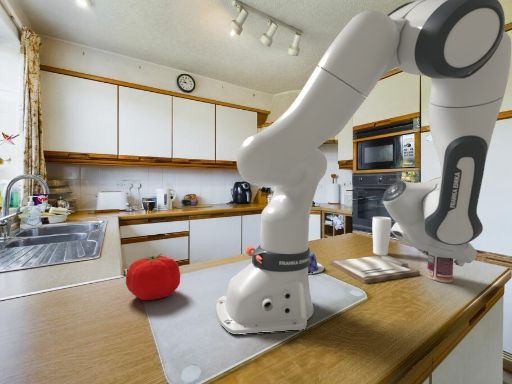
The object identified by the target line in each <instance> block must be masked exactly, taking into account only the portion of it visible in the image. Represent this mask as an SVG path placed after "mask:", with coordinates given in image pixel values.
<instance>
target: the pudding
mask: <svg viewBox="0 0 512 384" xmlns="http://www.w3.org/2000/svg"><path fill="white" fill-rule="evenodd" d="M316 257H317V256H316V255H315V253H314V252H312V251H310V266H309V270H308V272H313V273H312V274H318V273H321V272H323V271H324V270H325V267H324V265H322V264H321V263H319V262H317V258H316ZM315 271H316V272H315Z"/></svg>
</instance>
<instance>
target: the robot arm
mask: <svg viewBox="0 0 512 384" xmlns="http://www.w3.org/2000/svg"><path fill="white" fill-rule="evenodd" d="M505 17H506V15H505V12H504V7H503V6H502V4H501V2H500V1H499V0H413V1H409V2H406V3H404V4H401V5H400V6H397V8H395V9H394V10H392V11H390V12H389V13H388V14H386V13H385V12H381V11H378V10H377V11H376V10H364V11H362V12H359V13H357V14H355V15H354V16H353V17H352V18H351V19H350V20H349V22H347V24H346V25H345V26H344V27H343V28H342V29H341V31H340V32H339V34H337V36H336V37H335V38H334V40H333V41H332V42H331V44H330V45H329V47H328V48H327V49H326V51H324V54H323V55H322V57H321V58H320V60H319V61H318V63H317V65H316V67H315V68H314V70H313V71H312V73H311V74H310V76H309V77H308V79H307V81H306V83H305V84H304V86H303V88H302V89H301V91H299V93H298V95H297V97H296V98H295V99H294V100H293V102H292V103H291V105H290V106H289V107H288V108H287V109H286V110H285V111H284V112H283V113H282V114H281V115H280V116H279V117H278V118H277V119H276V120H275V121H274V122H273V123H272V124H269V126H268V127H266V128H265V129H263V130H262V131H260V132H258V133H256V134H253V135H251V136H248V137H247V138H246V139H244V140H243V142H242V143H241V144H240V146H239V148H238V151H237V154H236V168H237V171H238V174H239V175H240V177H241V178H242V180H243V181H244V182H246V183H248V184H251V185H254V186H257V187H261V188H265V189H266V188H269V189H271V188H273V189H274V191H273V195H272V197H271V199H270V201H269V203H268V204H267V205H266V206H265V207H264V208H263V209H262V211H261V214H260V229H259V230H260V232H259V234H260V237H259V242H260V243H259V245H258V247H256V248H254V246H252V245H249V246H247V247H246V248H245V253H246V254H247V255H248V256H249V257H251V262H250V263H249V264H247V266H246V267H244V268H243V269H242V270H240V271H239V272H238V273H237V274H235V275H234V276H233V277H232V278H231V279H230V280H229V282H228V284H227V289H226V295H222V296H220V297H219V298H218V299H217V301H216V306H215V313H217V314H216V317H218V318H217V320H218V319H219V320H218V322H219V321H220V322H219V324H220V323H221V324H222V326H223V327H224V328H225V329H227V330H228V331H230V332H232V333H236V334H238V333H250V332H251V333H252V332H262V331H281V330H282V331H283V330H284V331H285V330H299V331H303V330H302V329H304V330H306V329H307V327H306V326H308V321H309V319H310V318H311V317H312V316H313V314H314V308H315V307H314V305H313V304H314V303H313V300H312V295H311V291H310V290H311V289H310V279H309V273H308V270H309V266H310V252H311V249H310V247H309V235H310V234H309V232H310V231H309V230H310V217H311V216H310V215H311V211H312V206H313V203H314V202H313V201H314V199H315V195H316V191H317V188H318V186H319V183H320V182H321V180H322V179H323V178H324V176H325V174H326V172H327V169H328V161H327V157H326V155H325V153H323V151H322V150H320V149H319V147H320V146H321V145H322V144H324V143H326V142H327V141H329V140H331V139H332V138H334V137H336V136H337V135H339V134H340V133H341V132H342V131H343V129H344V128H345V127H346V126H347V124H348V122H349V121H350V120H351V119H352V118H353V117H354V115H355V113H356V112H358V110H359V108H361V106H362V105H363V103H364V102H365V101H366V100H367V98H368V96H369V95H370V94H371V92H372V91H373V90H374V89H375V87H376V86H377V84H378V83H379V81H380V80H381V79H382V78H383V77H385V76H386V74H388V73H389V72H390V71H392V70H394V69H399V70H400V71H402V72H403V73H407V74H409V75H410V74H411V75H415V76H425V77H428V78H430V79H431V87H430V93H429V101H428V111H427V112H428V115H427V117H428V124H429V131H430V135H431V139H432V140H433V144H434V146H435V150H436V153H437V156H438V161H439V166H440V177H436V178H433V179H429V180H427V181H422V182H420V181H419V182H409V181H405V180H404V181H402V180H401V181H397V182H394V183H393V184H391V185H390V186H389V187H388V188H386V190H385V191H384V193H383V196H382V203H383V205H384V207H385V209H386V211H387V213H388V214H389V215H390V218H391V219H393V221H394V224H393V225H392V226H391V230H390V231H391V233H392V235H394V236H395V238H396V239H397V240H398V242H400V243H401V244H402V245H404V246H407V247H410V248H414V249H415V250H417V251H419V252H420V253H421V254H422V255H423V256H426V257H428V252H431V253H435V254H438V255H442V256H445V257H449V258H452V259H453V264H455V265H456V266H458V267H464V265H465V263H466V264H471V263H473V261H474V260H475V259H476V257H477V256H478V251H477V249H475V247H474V246H473V245H472V244H471V243H470V242H473V241H474V240H475V239H477V238H478V237H479V236H480V235H481V234H482V233H483V230H484V227H483V224H482V221H481V219H480V217H479V216H478V213H477V210H478V205H479V204H478V203H479V199H480V195H481V193H480V192H481V190H482V189H481V188H482V184H483V179H484V172H485V166H486V161H487V157H488V153H489V149H490V144H491V142H492V136H493V133H494V130H495V126H496V123H497V120H498V118H499V115H500V114H499V113H500V111H501V107H502V104H503V100H504V97H505V93H506V90H507V85H508V81H509V75H510V68H511V57H512V38H511V36H510V35H509V34H508V32H507V31H505V24H506V21H505V20H506V18H505ZM307 320H308V321H307ZM221 324H220V325H221ZM222 326H221V327H222ZM223 327H222V328H223ZM224 328H223V329H224ZM305 328H306V329H305ZM225 329H224V330H225ZM285 332H286V331H285Z"/></svg>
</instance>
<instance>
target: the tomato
mask: <svg viewBox="0 0 512 384" xmlns="http://www.w3.org/2000/svg"><path fill="white" fill-rule="evenodd" d="M162 254H163V253H162V252H161V253H160V254H158V255H156V256H154V255H151V256H147V257H141V258H139V259H136V260H135V261H133V262H132V263H131V264H130V265H129V267H128V269H127V272H126V275H125V285H126V288H127V289H128V291H129V292H130V293H131V294H132V295H134V296H135V297H136V298H138V299H141V300H142V301H148V300H149V301H150V300H157V299H159V300H160V299H163V298H166V297H169V296H170V295H171V294H173V293H174V292H175V291H176V290H177V289H178V287H179V286H180V284H181V271H180V266H179V264H178V263H177V262H176V261H175V259H174V258H170V257H167V256H165V255H162Z"/></svg>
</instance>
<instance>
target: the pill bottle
mask: <svg viewBox="0 0 512 384" xmlns="http://www.w3.org/2000/svg"><path fill="white" fill-rule="evenodd" d="M426 268H427V269H426V275H427V278H429V279H430V280H433V281H435V282H440V283H445V284H447V283H451V282H452V281H453V279H454V278H453V275H454V259H452V258H449V257H445V256H442V255H438V254H435V253H431V252H428V256H427V266H426Z"/></svg>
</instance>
